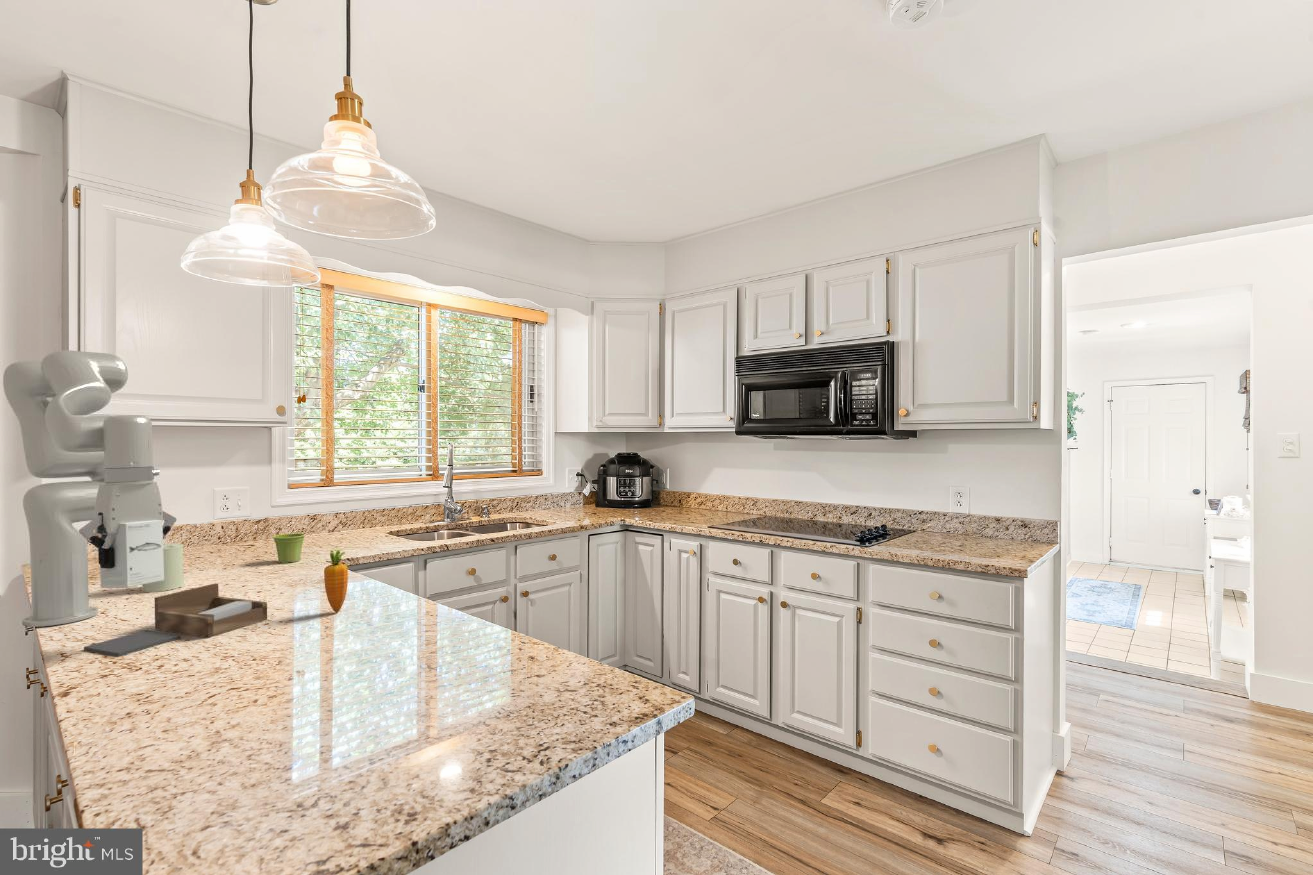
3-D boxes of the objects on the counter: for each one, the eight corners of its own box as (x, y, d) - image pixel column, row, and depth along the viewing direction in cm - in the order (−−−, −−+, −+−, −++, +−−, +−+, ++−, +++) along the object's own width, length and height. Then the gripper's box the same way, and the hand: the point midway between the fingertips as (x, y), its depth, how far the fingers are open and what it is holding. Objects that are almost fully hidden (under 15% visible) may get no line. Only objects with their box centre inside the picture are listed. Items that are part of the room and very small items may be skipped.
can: (166, 592, 167) (165, 547, 167) (132, 592, 168) (131, 548, 167) (192, 583, 177) (191, 541, 176) (160, 584, 177) (159, 542, 177)
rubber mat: (83, 649, 123) (83, 646, 123) (146, 632, 133) (146, 629, 133) (118, 656, 119) (118, 653, 119) (180, 638, 129) (180, 635, 129)
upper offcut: (198, 624, 132) (197, 613, 132) (236, 611, 141) (236, 601, 141) (214, 625, 131) (214, 614, 131) (251, 612, 140) (251, 601, 140)
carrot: (325, 611, 147) (324, 548, 147) (349, 608, 149) (348, 546, 149) (323, 617, 142) (322, 551, 142) (348, 614, 144) (346, 549, 144)
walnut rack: (155, 629, 135) (154, 597, 135) (216, 612, 147) (215, 583, 147) (208, 637, 129) (207, 604, 129) (267, 619, 141) (266, 588, 141)
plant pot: (287, 558, 211) (286, 532, 211) (312, 558, 210) (311, 533, 210) (266, 564, 202) (265, 537, 202) (292, 564, 201) (292, 537, 201)
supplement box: (126, 588, 121) (124, 523, 121) (99, 588, 123) (97, 524, 123) (166, 580, 128) (163, 519, 128) (139, 581, 130) (137, 520, 130)
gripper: (164, 473, 135) (166, 554, 135) (64, 479, 119) (67, 571, 119) (187, 473, 132) (189, 556, 132) (88, 480, 116) (91, 574, 116)
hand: (131, 563), depth 126 cm, fingers closed on supplement box, 7 cm apart
